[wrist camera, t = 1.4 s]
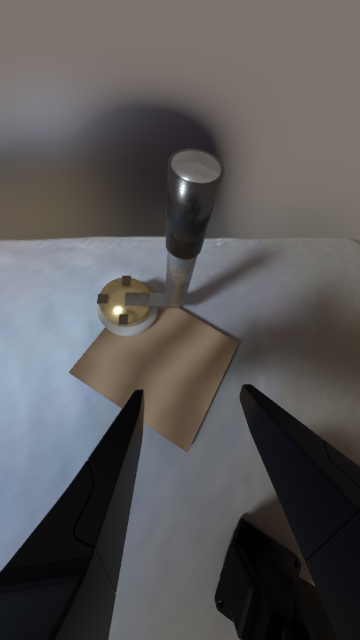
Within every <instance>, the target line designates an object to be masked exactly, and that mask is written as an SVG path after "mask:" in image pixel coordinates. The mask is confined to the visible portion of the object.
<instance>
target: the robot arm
mask: <svg viewBox="0 0 360 640" xmlns="http://www.w3.org/2000/svg"><path fill="white" fill-rule="evenodd" d="M240 402H241V405H242V408H243V411H244V414H245V417H246V421H247V424H248V427H249V430H250V432H251V435H252V437H253V440H254V442H255V444H256V447H257V449H258V451H259V454H260V456H261V458H262V461H263V463H264V465H265V468H266V470H267V472H268V475H269V477H270V480H271V482H272V484H273V487H274V489H275V491H276V494H277V496H278V498H279V501H280V503H281V505H282V508H283V510H284V513H285V515H286V517H287V520H288V522H289V524H290V527H291V529H292V531H293V534H294V536H295V538H296V541H297V543H298V545H299V548H300V550H301V553H302V555H303V557H304V560H305V561H306V565H307V567H308V569H309V572H310V574H311V576H312V579H313V581H314V584H315V586H316V587H315V586H313V585H312V584H310V583H308V582H307V581H305V580H303V579H302V578H300V577H299V573H300V569H301V563H300V560H299V558H298V557H297V556H296V555H295V554H294V553H293V552H291V551H290V550H288V549H287V548H285V547H284V546H283V545H281V544H280V543H278V542H277V541H275V540H274V539H272V538H271V537H270V536H268V535H267V534H265V533H264V532H262V531H261V530H259V529H258V528H257V527H255V526H254V525H252V524H251V523H249V522H248V521H246V520H245V519H241V520H240V521H239V523H238V526H237V529H236V532H235V535H234V539H233V542H232V543H231V544H230V547H229V550H228V553H227V556H226V559H225V562H224V565H223V568H222V571H221V574H220V581H219V584H218V588H217V591H216V594H215V604H216V607H217V610H218V611H219V612H221V613H222V614H223V615H224V616H226V617H227V618H228V619H230V620H231V621H232V622H234V625H235V628H236V632H237V635H238V637H239V639H241V640H360V466H359V465H357V464H356V463H355V462H353V461H352V460H350V459H349V458H347V457H346V456H345V455H343V454H342V453H341V452H339V451H338V450H337V449H335V448H334V447H333V446H331V445H330V444H329V443H327V442H326V441H325V440H322V438H321V437H319V436H318V435H317V434H315V433H314V432H313V431H312V430H310V429H309V428H308V427H306V426H305V425H304V424H302V423H301V422H300V421H298V420H297V419H296V418H294V417H293V416H292V415H291V414H289V413H288V412H287V411H285V410H284V409H283V408H281V407H280V406H279V405H277V404H276V403H275V402H273V401H272V400H271V399H270V398H268V397H267V396H266V395H264V394H263V393H262V392H260V391H259V390H258V389H256V388H255V387H254V386H252V385H251V384H244V385H242V388H241V392H240ZM144 405H145V401H144V390H143V389H138V390H135V391H134V392H133V394H132V395H131V397H130V398H129V399H128V401H127V402H126V404H125V405H124V407H123V408H122V410H121V411H120V413H119V414H118V416H117V417H116V419H115V420H114V421H113V423H112V424H111V426H110V427H109V429H108V430H107V432H106V433H105V435H104V436H103V438H102V439H101V440H100V442H99V443H98V445H97V446H96V448H95V449H94V451H93V452H92V454H91V455H90V457H89V458H88V460H87V461H86V462H85V464H84V465H83V467H82V468H81V470H80V471H79V473H78V474H77V475H76V477H75V478H74V480H73V481H72V482H71V484H70V485H69V487H68V488H67V489H66V490H65V492H64V493H63V494H62V496H61V497H60V498H59V500H58V501H57V502H56V503H55V505H54V506H53V507H52V508H51V510H50V511H49V512H48V513H47V515H46V516H45V517H44V518H43V520H42V521H41V522H40V523H39V525H38V526H37V527H36V528H35V530H34V531H33V532H32V533H31V535H30V536H29V537H28V538H27V540H26V541H25V542H24V543H23V545H22V546H21V547H20V548H19V550H18V551H17V552H16V553H15V555H14V556H13V557H12V558H11V560H10V561H9V562H8V563H7V565H6V566H5V567H4V568H3V569H2V570H1V572H0V640H108V638H109V632H110V626H111V620H112V614H113V608H114V602H115V597H116V594H115V593H116V590H117V585H118V579H119V573H120V567H121V561H122V555H123V549H124V544H125V538H126V532H127V526H128V520H129V514H130V508H131V503H132V497H133V491H134V485H135V479H136V473H137V467H138V461H139V456H140V450H141V444H142V436H143V422H144ZM243 525H246V527H245V528H244V529H242V528H243ZM294 561H295V563H294V564H293V562H294ZM221 599H222V602H221V603H220V602H219V600H221Z"/></svg>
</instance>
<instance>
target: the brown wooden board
mask: <svg viewBox="0 0 360 640" xmlns="http://www.w3.org/2000/svg"><path fill="white" fill-rule="evenodd" d="M145 286H146V285H145ZM146 287H147V286H146ZM147 289H148V290H149V293H153V291H152V290H151V289H150V288H149V287H147ZM97 312H98V316H99V319H100V321H101V322H102V324H103V325H104V326H105V328H104V330H103V331H102V332H101V333H100V335H99V336H98V337H97V338H96V340H95V341H94V342H93V343H92V344H91V346H90V347H89V348H88V349H87V351H86V352H85V353H84V354H83V355H82V357H81V358H80V359H79V360H78V362H77V363H76V364H75V365H74V367H73V368H72V369H71V370H70V371H69V373H70V374H72V375H73V376H75V377H76V378H78V379H79V380H81V381H82V382H84V383H85V384H87V385H88V386H90V387H91V388H93V389H94V390H96V391H97V392H99V393H100V394H102V395H103V396H104V397H106V398H107V399H109V400H110V401H112V402H113V403H115V404H116V405H118V406H119V407H121V408H123V407H124V405H125V404H126V402H127V401H128V399H129V398H130V397H131V395H132V394H133V392H134V391H135V390H138V389H143V390H144V401H145V405H144V422H143V423H145V424H146V425H147V426H149V427H150V428H152V429H153V430H155V431H156V432H158V433H159V434H161V435H162V436H164V437H165V438H167V439H168V440H170V441H171V442H173V443H174V444H176V445H177V446H179V447H180V448H182V449H183V450H185V451H186V452H188V451H189V448H190V446H191V444H192V442H193V440H194V438H195V435H196V433H197V431H198V429H199V427H200V425H201V423H202V420H203V418H204V416H205V414H206V412H207V410H208V408H209V405H210V403H211V401H212V399H213V397H214V395H215V393H216V390H217V388H218V386H219V384H220V382H221V380H222V378H223V375H224V373H225V371H226V369H227V367H228V365H229V363H230V360H231V358H232V356H233V354H234V352H235V350H236V348H237V345H238V343H237V342H236V341H234V340H232V339H231V338H229V337H227V336H225V335H224V334H222V333H220V332H219V331H217V330H215V329H214V328H212V327H210V326H208V325H207V324H205V323H203V322H202V321H200V320H198V319H196V318H195V317H193V316H191V315H190V314H188V313H186V312H184V311H183V310H181V309H179V308H151V310H150V313H149V315H148V316H147V318H146V319H145V320H144V321H143V322H141V323H140V324H138V325H135V326H132V327H120V326H116V325H114V324H113V323H111V322H110V321H109V320H108V319H107V318H106V317H105V316H104V314H103V313H102V312H101V310H100V307H99V304H98V306H97Z"/></svg>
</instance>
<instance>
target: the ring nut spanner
mask: <svg viewBox="0 0 360 640" xmlns="http://www.w3.org/2000/svg"><path fill="white" fill-rule="evenodd" d="M223 174H224V168H223V165H222V163H221V162H220V161H219V160H218V159H217V158H216V157H215V156H213V155H212V154H210V153H208V152H205V151H202V150H197V149H183V150H179V151H177V152H175V153H173V154H172V155H171V156H170V158H169V160H168V185H167V217H166V248H167V272H166V293H149V290H148V289H147V287H146V286H145V285H144V284H143V283H142V282H140V281H139V280H136V279H133V278H131V276H122V278H118V279H115V280H113V281H111V282H109V283H108V284H107V285H106V286H105V287H104V288H103V289H102V291H101V293H100V294H98V300H97V304H99V307H100V310H101V312H102V313H103V314H104V316H105V317H106V318H107V319H108V320H109V321H110V322H111V323H113V324H114V325H116V326H120V327H132V326H135V325H138V324H140V323H141V322H143V321H144V320H145V319H146V318H147V316H148V315H149V313H150V310H151V308H179V307H181V306H182V305H183V304H184V302H185V298H186V295H187V291H188V287H189V284H190V280H191V277H192V273H193V270H194V266H195V262H196V259H197V255H198V254H199V253H200V251H201V248H202V245H203V242H204V238H205V235H206V232H207V228H208V225H209V221H210V218H211V215H212V211H213V207H214V204H215V201H216V198H217V194H218V191H219V188H220V184H221V180H222V177H223Z"/></svg>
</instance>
